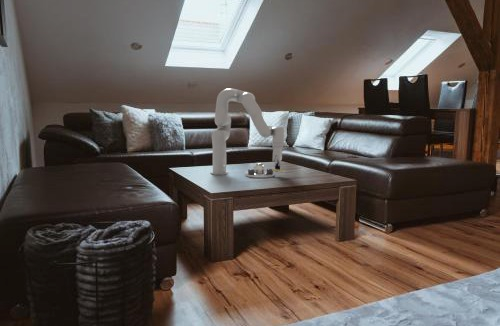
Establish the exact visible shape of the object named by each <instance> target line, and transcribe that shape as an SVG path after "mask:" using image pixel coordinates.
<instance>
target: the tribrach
mask: <svg viewBox="0 0 500 326" xmlns="http://www.w3.org/2000/svg"><path fill="white" fill-rule="evenodd" d="M244 176H245V177H247V178H253V179H267V178H273V177H274V176H275V174H274V172H273V174H267V170H265V164H264V163H263V162H256V163H254V166H253V168H251V169H248V170H247V171H245V172H244Z"/></svg>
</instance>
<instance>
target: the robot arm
mask: <svg viewBox="0 0 500 326" xmlns="http://www.w3.org/2000/svg"><path fill="white" fill-rule="evenodd" d="M230 102H235V103H239V104H242V106H243V107H244V109H245V111H246V113H248V115H249V117H250V119H251V121H252V123H253V126H254V128H255V129H256V131H257V132H258V133H259V135H260V136H261V137H262V138H264V139H265V138H269V137H272V142H271V143H272V159H271V160H272V162H274V169H281V162H282V159H283V148H284V140H285V139H284V138H285V137H284V136H285V129H284V126H276V125H275V126H272V125H267V123H266V121H265V119H264V115H263V112H262V109H261V108H260V105H258V103H257V100H256V97H255V95H254V94H253V93H252V92H249V91H245V90H240V89H236V88H232V87H231V88H224V89H223V90H221V91H220V92H219V93H218V95H217V97H216V104H215V114H214V123H215V125H216V126H217V128H216V129H214V130H213V132H212V134H211V143H212V170H211V171H210V174H211V175H214V176H215V175H216V176H223V175H228V174H229V171H228V170H227V140H228V139H229V138H230V135H231V127H232V117H231V115H230V114H229V103H230ZM274 172H276V173H277V171H274Z"/></svg>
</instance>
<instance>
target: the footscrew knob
mask: <svg viewBox="0 0 500 326" xmlns="http://www.w3.org/2000/svg"><path fill="white" fill-rule="evenodd" d="M266 171H267V174H273V173H274V172H275V171H277V172H278V173H285V172H286V170H285V169H281V168H280V169H275V168H272V167H270V168H267V169H266ZM277 172H276V173H277Z"/></svg>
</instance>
